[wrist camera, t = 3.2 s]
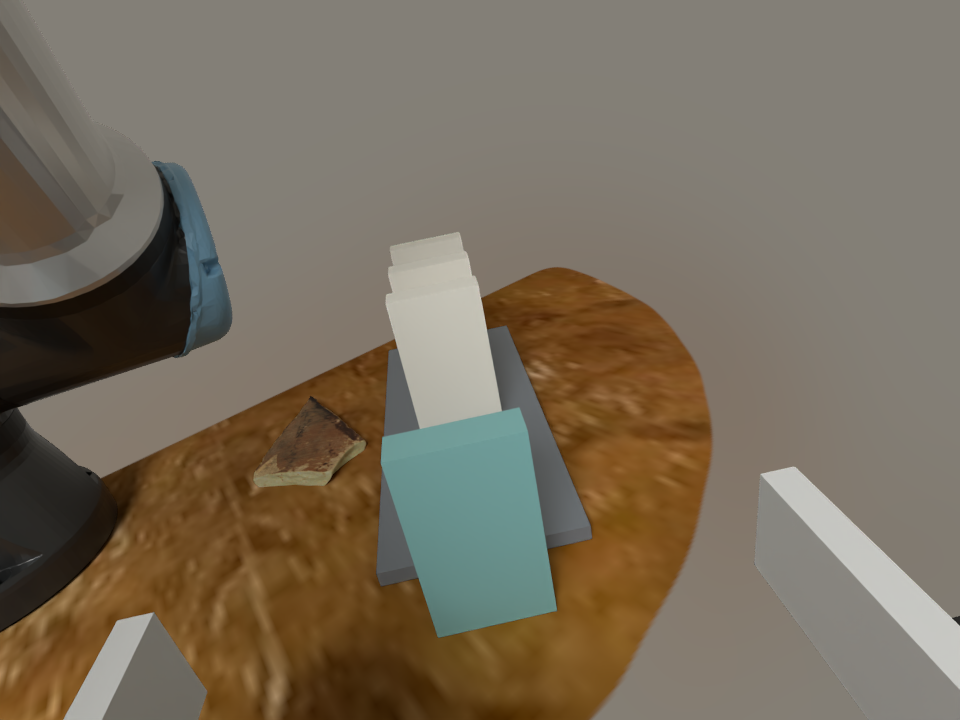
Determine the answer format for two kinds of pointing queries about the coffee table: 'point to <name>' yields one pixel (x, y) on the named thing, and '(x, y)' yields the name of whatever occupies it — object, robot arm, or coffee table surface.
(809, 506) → the robot arm
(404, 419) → the slate runway
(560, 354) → the coffee table surface
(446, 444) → the teal domino
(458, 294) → the ivory domino
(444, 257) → the ivory domino
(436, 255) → the ivory domino
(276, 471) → the shard
